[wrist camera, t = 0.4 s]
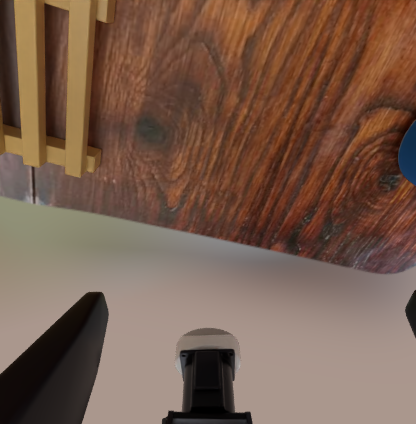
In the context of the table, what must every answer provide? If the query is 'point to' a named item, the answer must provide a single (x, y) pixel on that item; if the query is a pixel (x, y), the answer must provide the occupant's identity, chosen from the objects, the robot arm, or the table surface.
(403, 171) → the beverage can
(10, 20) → the table surface
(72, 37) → the rack
